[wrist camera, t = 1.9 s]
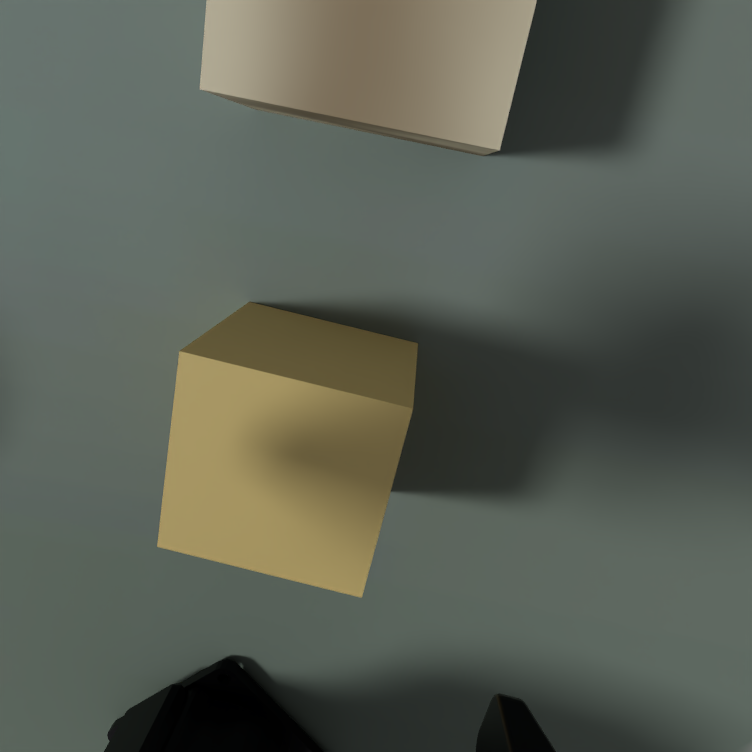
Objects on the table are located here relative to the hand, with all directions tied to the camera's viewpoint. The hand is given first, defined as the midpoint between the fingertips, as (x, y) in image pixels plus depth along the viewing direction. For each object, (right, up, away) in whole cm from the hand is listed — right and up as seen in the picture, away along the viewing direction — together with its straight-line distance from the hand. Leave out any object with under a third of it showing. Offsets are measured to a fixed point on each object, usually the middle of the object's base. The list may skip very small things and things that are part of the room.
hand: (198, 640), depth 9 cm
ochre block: (+1, +3, +9) cm, 10 cm away
